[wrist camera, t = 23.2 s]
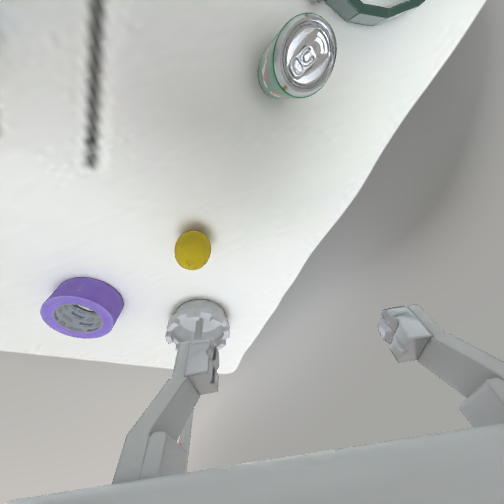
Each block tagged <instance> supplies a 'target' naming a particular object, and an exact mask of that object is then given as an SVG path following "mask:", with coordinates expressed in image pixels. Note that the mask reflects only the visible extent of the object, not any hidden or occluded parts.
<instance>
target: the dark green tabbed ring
mask: <svg viewBox="0 0 504 504" xmlns="http://www.w3.org/2000/svg"><path fill="white" fill-rule="evenodd" d="M317 1H318V3H320V2H321V0H317ZM325 1H326V3H327V4H328V5H329V6H331V7H332V8H333V9H334V10H335V11H336V12H337V13H338V14H339V15H340V16H341V17H342V18H343V19H344V20H345V21H347V22H352V23H358V24H363V25H369V26H372V25H373V26H374V25H376V24H379V23H382V22H384V21H387V20H389V19H392V18H394V17H397V16H400V15H402V14H404V13H406V12H408V11H410V10H412V9H414V8H416V7H418V6H420V5H421V4H422V3H423V2H424V1H425V0H406V1H405V2H404V3H401V4H399V5H396V6H394V7H391V8H385V7H380V6H374V5H369V4H363V3H362V2H361V1H360V0H325Z"/></svg>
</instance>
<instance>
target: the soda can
mask: <svg viewBox="0 0 504 504" xmlns="http://www.w3.org/2000/svg"><path fill="white" fill-rule="evenodd" d="M336 50H337V48H336V39H335V35H334V32H333V30H332V28H331V27H330V25H329V24H328V23H327V21H326V20H325V19H323V18H322V17H321V16H319V15H317V14H314V13H302V14H299V15H297V16H295V17H294V18H292V19H291V20H290V21H288V22H287V23H286V24H285V26H284V27H283V28H282V30H281V31H280V32H279V33H278V35H277V36H276V37H275V39H274V40H273V41H272V43H271V44H270V45H269V46H268V48H267V49H266V50H265V52H264V53H263V55H262V57H261V59H260V62H259V66H258V78H259V82H260V85H261V87H262V89H263V90H264V92H265V93H266V94H267V95H269V96H270V97H273V98H305V97H309V96H311V95H313V94H315V93H316V92H317V91H319V90H320V89H321V88H322V87H323V86H324V84H325V83H326V82H327V80H328V78H329V77H330V74H331V72H332V70H333V66H334V63H335V59H336Z"/></svg>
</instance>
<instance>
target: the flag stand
mask: <svg viewBox="0 0 504 504" xmlns="http://www.w3.org/2000/svg"><path fill="white" fill-rule="evenodd" d="M165 337H166V341H167V342H168V344H169V343H175V344H176V350H178V346H179V344H180V342H185V341H191V340H199V339H205V338H213V340H214V346H216V347H217V349H218V350H220V349H221V348H223V347H224V346H225V345H226V339H227V338H229V322H228V320H227V319H226V317H225V313H224V311H223V309H222V308H221V307H220V306H219V305H217V304H216V303H214V302H211V301H207V300H192V301H189V302H186V303H184V304H182V305H181V306H180V307H179V308H178V309H177V311H176V314H175V315H173V316H172V317H171V319H170V320H169V322H168V326H167V332H166V336H165ZM193 410H194V409H193ZM192 418H193V411H192V413H191V414H190V416H189V418H188V420H187V422H186V424H185V426H184V428H183V430H182V431H181V433H180V440H179V444H180V445H181V446H182V447H183V448H184V449H185V450H186V452H187V454H186V464H185V473H186V472H187V463H188V455H189V445H190V437H191V427H192Z"/></svg>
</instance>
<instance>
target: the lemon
mask: <svg viewBox="0 0 504 504" xmlns="http://www.w3.org/2000/svg"><path fill="white" fill-rule="evenodd" d="M210 253H211V244H210V241H209V239H208V238H207V236H206V235H204V234H203V233H201V232H199V231H188V232H186V233H184V234H182V235H181V236H180V237H179V239H178V240H177V242H176V245H175V258H176V260H177V262H178V264H179V265H180V266H182V267H183V268H185V269H188V270H196V269H199V268H201V267H203V266H204V265H205V264H206V263H207V261H208V259H209V257H210Z"/></svg>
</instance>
